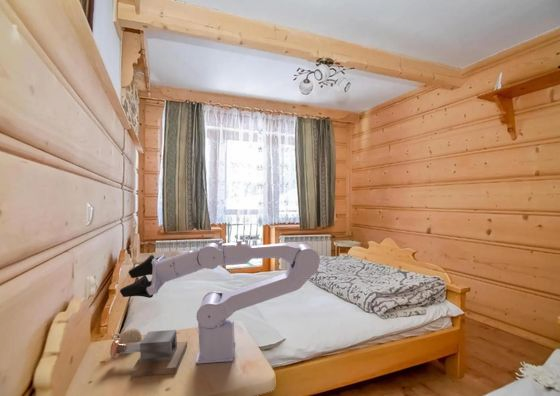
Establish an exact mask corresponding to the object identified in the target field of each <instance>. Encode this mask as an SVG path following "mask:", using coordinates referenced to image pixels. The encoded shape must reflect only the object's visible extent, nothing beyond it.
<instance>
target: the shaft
mask: <svg viewBox="0 0 560 396" xmlns="http://www.w3.org/2000/svg"><path fill="white" fill-rule="evenodd" d="M140 343H141V342H133V343H122V341H121V340H113V341H112V343H111V344H110V348H109V349H110V352H109V353H110V355H109V356H110V357H111V358H112V359H113V358H119V357H120V356H121V354H122V355H123V354H134V353H140Z"/></svg>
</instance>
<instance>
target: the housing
mask: <svg viewBox="0 0 560 396" xmlns="http://www.w3.org/2000/svg"><path fill="white" fill-rule="evenodd" d="M177 336H178V335H177V330H176V329H171V330H170V329H169V330H152V331H148V332H147V333H146V334H145V336H144V337H143V338H142V339H143V340H142V341H141V343H140V352H139V353H140V357H139V358H138V359H137V360H136V362H135V364H134V365H133V367H132V368H131V370H130V376H131V378H132V377H133V378H134V377H145V376H146V377H147V376H159V375H168V374H169V375H173V374H177V372H178V371H179V367H180V365H181V364H182V360H183V358H184V356H185V353H186V351H187V348H188V341H178V337H177Z"/></svg>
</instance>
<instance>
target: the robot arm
mask: <svg viewBox="0 0 560 396" xmlns="http://www.w3.org/2000/svg"><path fill="white" fill-rule="evenodd" d="M253 259H282V260H284V261H285V262H287V263H289V265H288V268H287V270H286V272H284V273H282V274H279V275H276V276H272V277H270V278H267V279H265V280H264V279H263V280H261V281H259V282H256V283H252V284H249V285H247V286H244V287H243V286H242V287H240V288H236V289H234V290H222V291H215V290H213V291H210V292H207V293H206V294H205V295H204V296H203V298H202V301H201V304H200V306H199V308H198V310H197V312H196V315H195V316H196V321H197V324H198V327H197V328H198V329H197V330H198V350H199V351H198V353H197V356H196V359H195V364H209V363H211V364H212V363H221V362H222V363H224V362H225V363H226V362H232V361H234V356H235V349H236V340H235V321H234V320H233V319H229V318H230V317H231V316H233V314H234V313H235V312H237V311H239V310H242V309H246V308H249V307H251V306H255V305H258V304H261V303H263V302H266V301H269V300H272V299H276V298H278V297H281V296H284V295H287V294H289V293H293V292H296V291H298V290H300V289H301V288H302V287H303V286H304V285H305V283H306V282H308V281H309V279H310V278H311V277H312V276H315V275H316V274H317V273H318V269H319V266H320V263H321V258H320V255H319V253H318V252H317V251H316V250H315V249H313V247H312V246H311V245H310V244H309V243H307V242H303V241H301V242H295V241H289V242H281V243H280V242H279V243H270V244H261V245H253V246H252V245H250V244H249V243H248V242H246V241H243V242H242V239H237V240H236V242H226V243H223V242H222V241H219V242H218V243H216V242H206V243H205V244H204V245H203V246H202V248H201V247H198V248H194V250H189V251H186V252H183V253H179V254H176V255H173V256H170V257H166V255H165V254H164V253H162V254H160V255H157V256H156V258H155V256H154V255H153V254H151V255H149V256H148V257H147V258H146V259H145V260H144V261H142V262H141V263H139V264H138V265H136V266H134V268H133V267H132V268H130V270H128V274H129V276H130V278H131V279H135V278H139V279H138V280H136V281H135V282H133V283H130V284H129V285H126V286H124V287H122V288H121V289H120V290H119V292H120V294H121V296H122V298H129V297H130V298H131V297H145V298H148V299H150V298H153V297H154V295H157V294H158V293H159V290H160V289H161V287H163V286H164V285H165V283H166V282H170V281H172V280H175V279H179V278H182V277H184V276H187V275H188V276H189V275H190V274H192V273H193V274H194V273H197V272H198V271H202V270H203V269H207V270H215V269H216V268H218V267H219V266H220V265H221V266H233V265H236V266H237V265H246V264H248V263H249V262H250V261H251V260H253ZM150 275H152V277H151V279H150V280H149V279H148V277H147V276H150Z"/></svg>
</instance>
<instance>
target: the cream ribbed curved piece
mask: <svg viewBox="0 0 560 396" xmlns="http://www.w3.org/2000/svg"><path fill="white" fill-rule="evenodd" d="M141 332H142V331H140V329H139V328H137V327H132V328H128V329H126V330H124V331H123V332H121V333H116V332H115V333H112V334H111V335H110V337H111V339H112V340H113V341H115V340H121V341H122V343H133V342H141V341H142V340H143V339H144V338H143V336H142V333H141ZM114 336H117V337H118V338H117V337H114Z"/></svg>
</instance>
